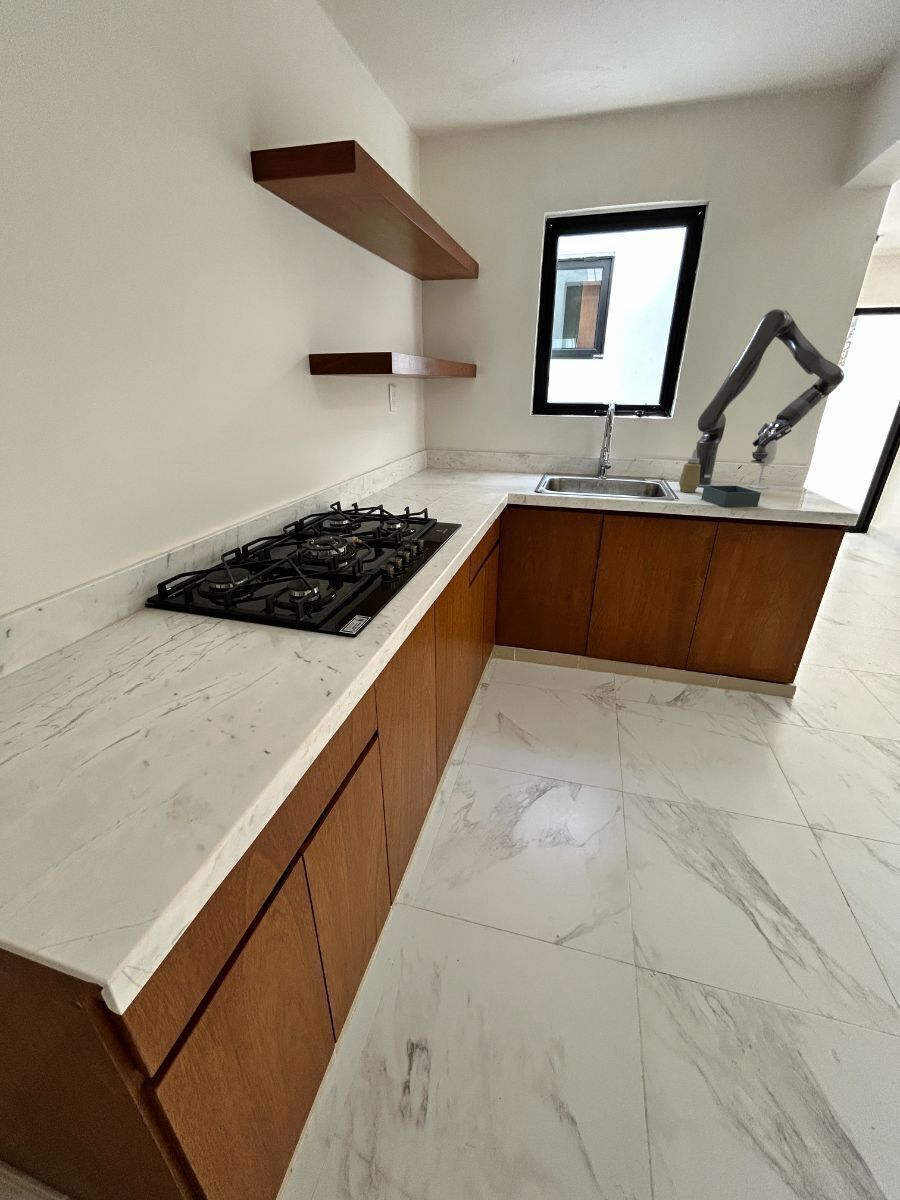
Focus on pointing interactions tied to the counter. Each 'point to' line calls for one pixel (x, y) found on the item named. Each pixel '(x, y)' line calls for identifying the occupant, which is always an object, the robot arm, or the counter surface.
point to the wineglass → (767, 461)
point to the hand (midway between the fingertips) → (757, 445)
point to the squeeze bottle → (690, 474)
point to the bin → (731, 496)
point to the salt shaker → (760, 451)
